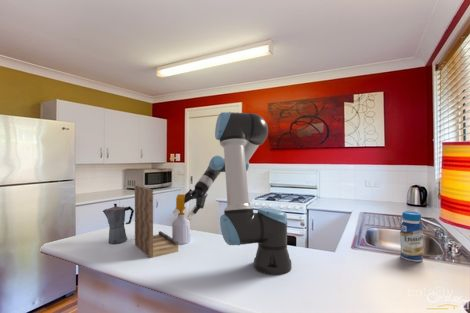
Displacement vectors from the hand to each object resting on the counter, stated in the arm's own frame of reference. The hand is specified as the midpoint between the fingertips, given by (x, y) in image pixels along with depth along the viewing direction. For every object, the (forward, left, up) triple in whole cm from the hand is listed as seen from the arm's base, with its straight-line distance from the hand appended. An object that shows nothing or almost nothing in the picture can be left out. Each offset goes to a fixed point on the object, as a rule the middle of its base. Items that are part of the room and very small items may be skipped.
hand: (181, 216), depth 141 cm
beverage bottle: (-82, -70, -13) cm, 109 cm away
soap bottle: (-1, +1, -14) cm, 14 cm away
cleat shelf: (-2, +15, -13) cm, 20 cm away
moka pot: (+20, +27, -14) cm, 36 cm away
